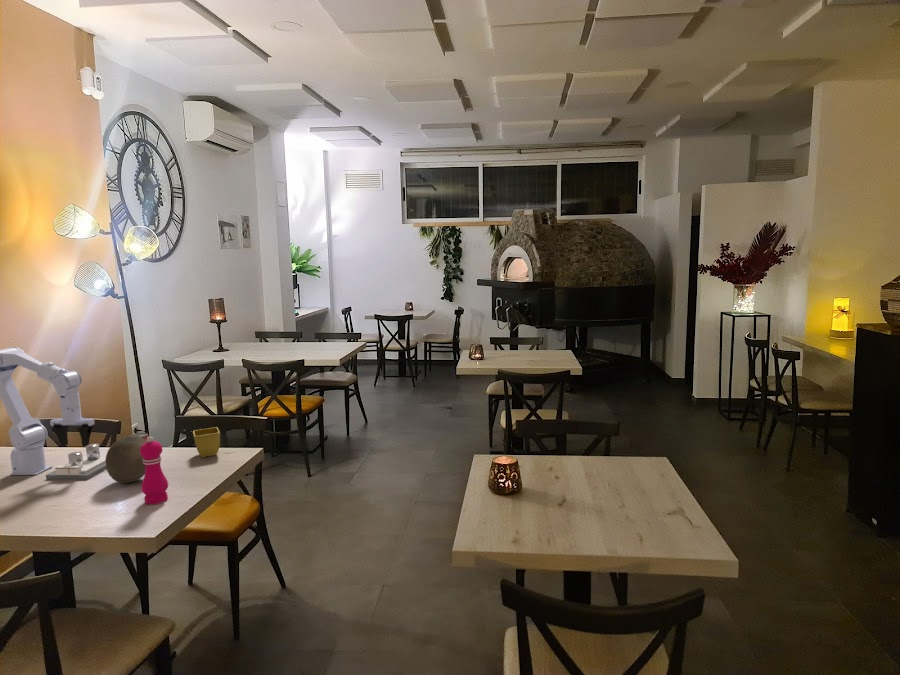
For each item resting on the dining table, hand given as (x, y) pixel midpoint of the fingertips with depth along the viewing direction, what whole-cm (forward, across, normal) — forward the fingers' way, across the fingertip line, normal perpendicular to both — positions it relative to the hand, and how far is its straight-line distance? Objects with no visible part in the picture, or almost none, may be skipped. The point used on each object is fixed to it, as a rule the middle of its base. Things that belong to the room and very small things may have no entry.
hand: (75, 445), depth 204 cm
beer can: (+10, +20, +5) cm, 23 cm away
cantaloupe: (+10, +24, -7) cm, 27 cm away
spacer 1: (+8, 0, -1) cm, 8 cm away
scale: (+10, 0, +3) cm, 10 cm away
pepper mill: (+10, +41, -22) cm, 48 cm away
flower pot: (+10, +37, +19) cm, 43 cm away
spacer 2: (+8, 0, +8) cm, 11 cm away
